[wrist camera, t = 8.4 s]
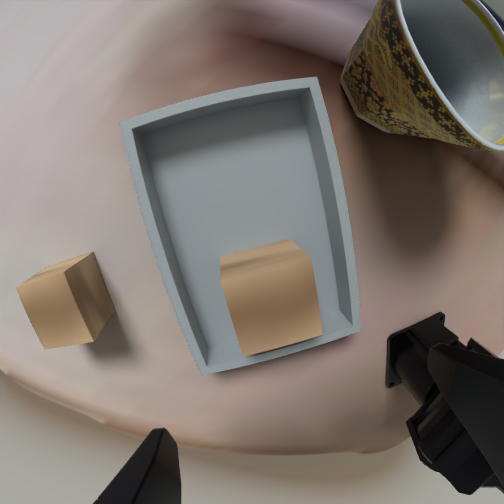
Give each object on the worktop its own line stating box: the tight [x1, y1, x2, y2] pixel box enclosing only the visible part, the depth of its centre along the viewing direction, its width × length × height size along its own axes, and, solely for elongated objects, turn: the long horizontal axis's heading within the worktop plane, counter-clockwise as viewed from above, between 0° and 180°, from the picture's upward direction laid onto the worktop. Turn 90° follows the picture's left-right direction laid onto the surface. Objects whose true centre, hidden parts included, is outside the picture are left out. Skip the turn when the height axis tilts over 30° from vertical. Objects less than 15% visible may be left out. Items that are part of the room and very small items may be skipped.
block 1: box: [16, 252, 115, 349], centre depth 16 cm, size 4×4×4 cm
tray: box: [120, 77, 361, 375], centre depth 17 cm, size 16×11×3 cm
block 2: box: [220, 239, 323, 357], centre depth 16 cm, size 4×4×4 cm
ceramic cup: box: [340, 0, 504, 152], centre depth 11 cm, size 13×10×10 cm
